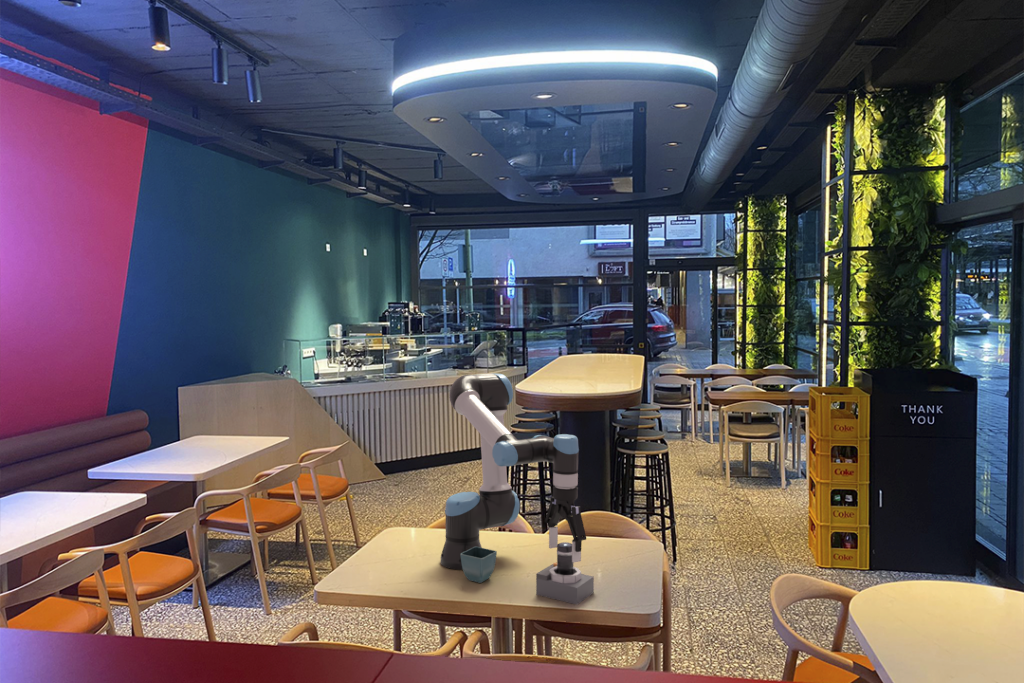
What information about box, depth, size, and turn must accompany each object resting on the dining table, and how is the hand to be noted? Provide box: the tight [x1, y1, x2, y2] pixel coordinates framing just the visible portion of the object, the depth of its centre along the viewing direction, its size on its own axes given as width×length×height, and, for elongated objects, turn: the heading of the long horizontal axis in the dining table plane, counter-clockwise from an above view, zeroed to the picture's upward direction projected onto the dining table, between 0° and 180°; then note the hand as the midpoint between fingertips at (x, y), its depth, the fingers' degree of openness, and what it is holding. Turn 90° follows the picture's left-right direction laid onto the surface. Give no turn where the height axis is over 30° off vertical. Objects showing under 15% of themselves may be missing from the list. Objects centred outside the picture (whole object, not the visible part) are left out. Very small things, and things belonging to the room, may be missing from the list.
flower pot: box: [460, 546, 497, 583], centre depth 229 cm, size 9×9×9 cm
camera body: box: [535, 562, 595, 606], centre depth 218 cm, size 14×11×7 cm
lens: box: [556, 541, 574, 575], centre depth 218 cm, size 5×5×10 cm
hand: (564, 554), depth 218 cm, fingers open, 13 cm apart
